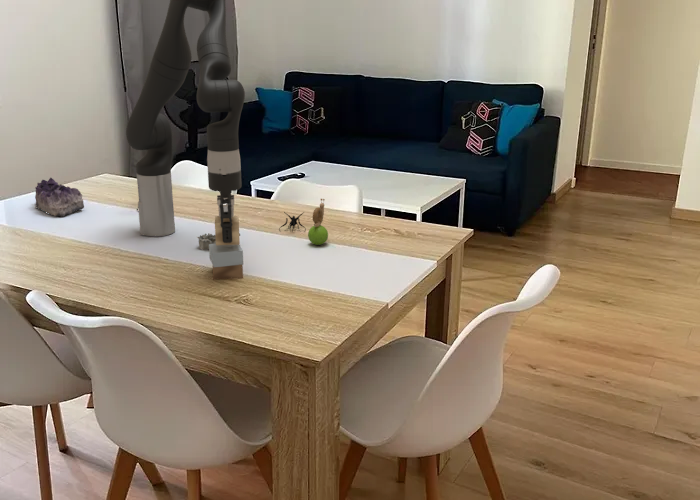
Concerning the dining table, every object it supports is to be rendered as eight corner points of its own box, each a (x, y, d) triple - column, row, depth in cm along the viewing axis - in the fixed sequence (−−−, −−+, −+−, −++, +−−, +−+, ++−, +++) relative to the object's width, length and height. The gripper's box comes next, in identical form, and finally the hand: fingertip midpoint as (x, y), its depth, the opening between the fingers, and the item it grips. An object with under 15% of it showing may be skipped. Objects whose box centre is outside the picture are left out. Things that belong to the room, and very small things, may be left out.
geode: (21, 208, 229) (20, 176, 227) (56, 206, 237) (55, 175, 235) (53, 218, 216) (52, 184, 214) (89, 215, 225) (88, 183, 223)
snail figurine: (332, 241, 199) (332, 199, 196) (323, 248, 194) (323, 205, 190) (313, 239, 201) (313, 197, 197) (305, 246, 195) (304, 203, 191)
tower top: (213, 267, 170) (212, 253, 169) (209, 257, 176) (208, 244, 175) (243, 264, 172) (242, 250, 171) (238, 255, 178) (237, 241, 177)
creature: (305, 237, 206) (307, 224, 213) (304, 221, 204) (307, 208, 210) (278, 237, 207) (281, 223, 213) (277, 220, 204) (280, 207, 210)
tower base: (213, 280, 172) (212, 266, 170) (213, 270, 178) (212, 257, 177) (243, 279, 173) (242, 265, 172) (241, 269, 179) (241, 255, 178)
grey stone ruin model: (242, 247, 195) (242, 233, 194) (227, 255, 189) (226, 240, 187) (211, 241, 199) (210, 227, 198) (194, 249, 193) (193, 234, 192)
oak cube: (215, 245, 170) (214, 222, 168) (216, 238, 175) (215, 216, 173) (239, 244, 170) (238, 222, 169) (239, 237, 176) (238, 215, 174)
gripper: (208, 162, 173) (212, 230, 179) (206, 176, 160) (210, 248, 165) (240, 161, 174) (243, 228, 180) (241, 175, 161) (244, 247, 166)
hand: (227, 238), depth 172 cm, fingers closed on oak cube, 5 cm apart
